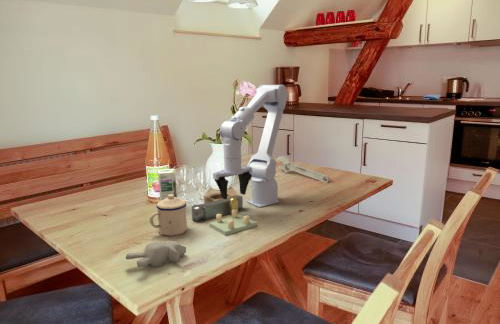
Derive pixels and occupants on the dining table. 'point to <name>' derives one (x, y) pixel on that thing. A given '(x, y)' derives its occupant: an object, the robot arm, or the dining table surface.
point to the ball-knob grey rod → (214, 209)
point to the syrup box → (167, 183)
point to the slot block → (213, 197)
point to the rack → (232, 223)
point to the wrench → (300, 169)
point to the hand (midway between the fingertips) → (233, 196)
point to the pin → (234, 204)
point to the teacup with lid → (171, 216)
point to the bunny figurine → (158, 254)
